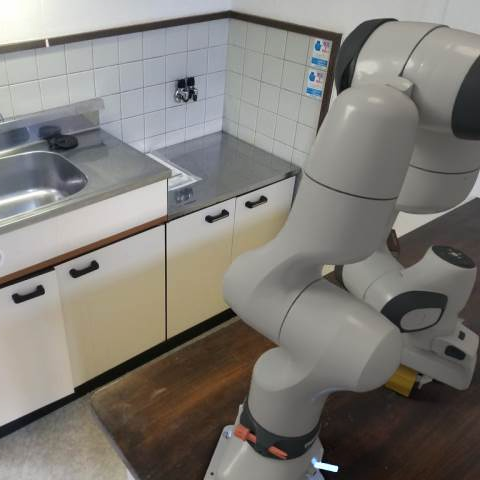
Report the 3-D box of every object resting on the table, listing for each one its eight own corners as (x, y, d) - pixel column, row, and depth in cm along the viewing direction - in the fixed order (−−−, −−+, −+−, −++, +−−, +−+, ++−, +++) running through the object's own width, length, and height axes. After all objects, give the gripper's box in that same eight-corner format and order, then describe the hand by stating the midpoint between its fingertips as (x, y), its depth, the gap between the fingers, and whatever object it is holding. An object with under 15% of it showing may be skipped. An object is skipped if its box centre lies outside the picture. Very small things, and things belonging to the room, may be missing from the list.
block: (407, 397, 97) (414, 381, 95) (384, 386, 99) (390, 370, 97) (413, 382, 100) (420, 367, 98) (390, 372, 102) (396, 356, 100)
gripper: (360, 311, 94) (343, 363, 102) (483, 362, 84) (454, 415, 92) (371, 294, 98) (354, 345, 106) (489, 340, 88) (461, 393, 96)
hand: (401, 378), depth 99 cm, fingers closed on block, 4 cm apart
